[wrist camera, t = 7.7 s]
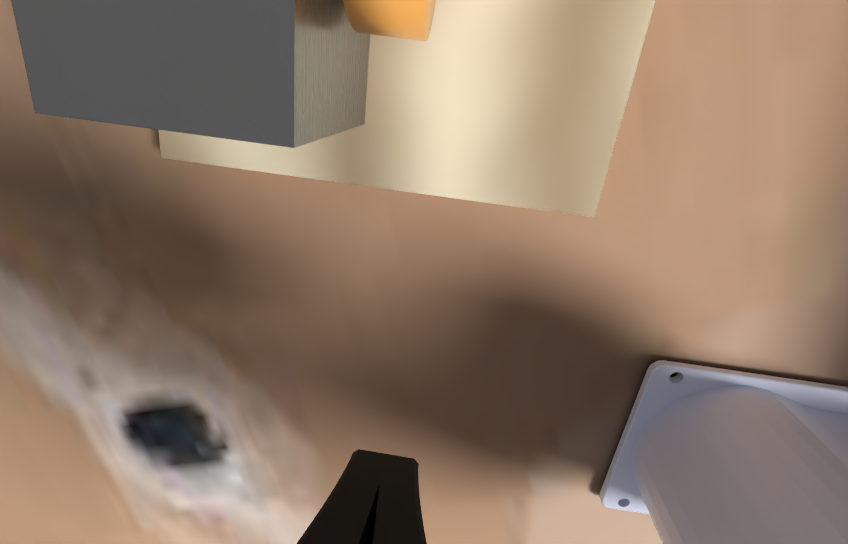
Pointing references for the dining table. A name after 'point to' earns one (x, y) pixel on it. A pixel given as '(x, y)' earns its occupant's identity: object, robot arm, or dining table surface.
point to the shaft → (392, 17)
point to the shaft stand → (355, 89)
